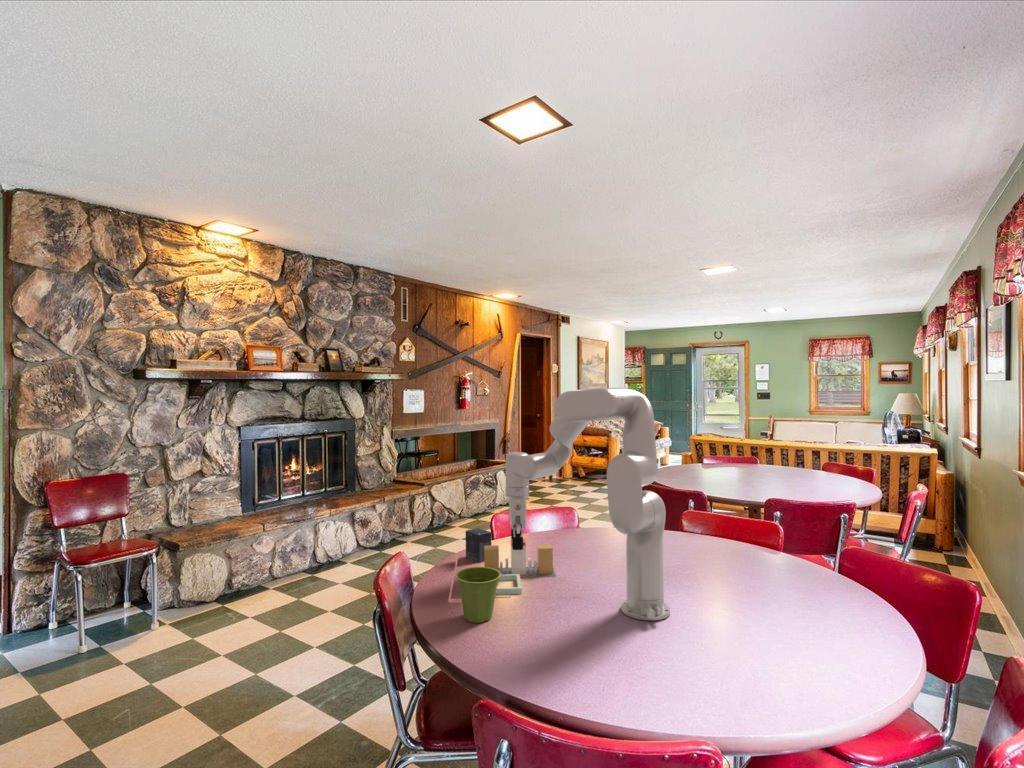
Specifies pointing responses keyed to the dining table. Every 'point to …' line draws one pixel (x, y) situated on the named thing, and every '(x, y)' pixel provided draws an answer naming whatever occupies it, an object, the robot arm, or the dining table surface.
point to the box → (477, 544)
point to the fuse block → (540, 567)
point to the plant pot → (478, 592)
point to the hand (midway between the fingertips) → (516, 544)
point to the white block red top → (518, 559)
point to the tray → (509, 589)
